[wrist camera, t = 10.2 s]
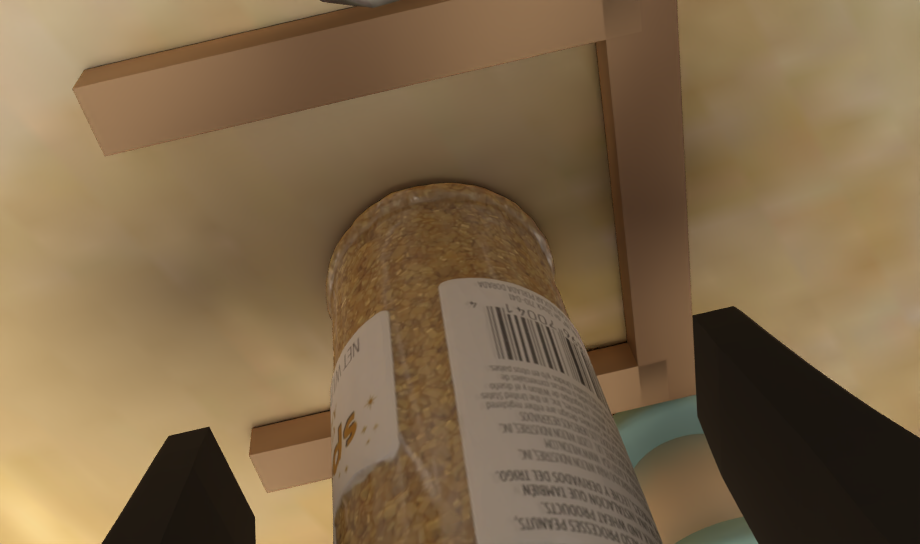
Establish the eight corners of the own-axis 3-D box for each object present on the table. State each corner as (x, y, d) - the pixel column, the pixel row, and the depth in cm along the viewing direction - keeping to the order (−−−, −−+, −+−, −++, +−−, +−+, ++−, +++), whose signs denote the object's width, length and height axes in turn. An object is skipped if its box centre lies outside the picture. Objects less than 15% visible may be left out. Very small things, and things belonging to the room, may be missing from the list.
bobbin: (770, 363, 20) (871, 520, 16) (767, 495, 22) (854, 656, 19) (573, 409, 20) (628, 575, 16) (594, 535, 22) (645, 704, 19)
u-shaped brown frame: (658, -65, 14) (674, -52, 13) (683, 370, 20) (696, 394, 19) (84, 69, 14) (72, 88, 14) (268, 465, 20) (266, 493, 19)
